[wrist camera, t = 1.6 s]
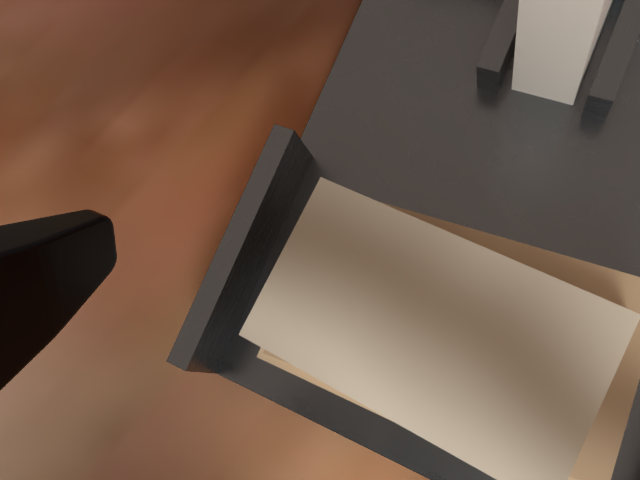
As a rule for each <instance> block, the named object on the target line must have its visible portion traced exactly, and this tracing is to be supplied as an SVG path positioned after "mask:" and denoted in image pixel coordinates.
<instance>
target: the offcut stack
mask: <svg viewBox="0 0 640 480" xmlns="http://www.w3.org/2000/svg"><path fill="white" fill-rule="evenodd" d="M239 335H240V336H242V337H244V338H245V339H247V340H249V341H251V342H253V343H254V344H256V345H258V346H260V347H261V348H260V350H259V353H258V355H257V357H258V358H260V359H262V360H264V361H266V362H268V363H270V364H273V365H275V366H277V367H279V368H281V369H283V370H285V371H287V372H289V373H292V374H294V375H296V376H298V377H300V378H302V379H304V380H306V381H308V382H311V383H313V384H315V385H317V386H319V387H321V388H323V389H325V390H327V391H330V392H332V393H334V394H336V395H338V396H340V397H342V398H344V399H346V400H349V401H351V402H353V403H355V404H357V405H359V406H361V407H363V408H365V409H368V410H370V411H372V412H374V413H376V414H378V415H380V416H382V417H384V418H387V419H389V420H391V421H393V422H395V423H397V424H398V425H400V426H402V427H404V428H406V429H407V430H409V431H411V432H413V433H415V434H416V435H418V436H420V437H422V438H423V439H425V440H427V441H429V442H431V443H432V444H434V445H436V446H438V447H439V448H441V449H443V450H445V451H447V452H448V453H450V454H452V455H454V456H455V457H457V458H459V459H461V460H463V461H464V462H466V463H468V464H470V465H471V466H473V467H475V468H477V469H479V470H480V471H482V472H484V473H486V474H488V475H489V476H491V477H493V478H495V479H496V480H611V477H612V474H613V470H614V467H615V463H616V460H617V456H618V453H619V449H620V446H621V442H622V439H623V435H624V432H625V428H626V425H627V421H628V418H629V414H630V411H631V407H632V404H633V400H634V397H635V393H636V390H637V386H638V383H639V380H640V277H638V276H634V275H631V274H627V273H624V272H620V271H617V270H614V269H610V268H607V267H603V266H600V265H596V264H593V263H589V262H586V261H582V260H579V259H576V258H572V257H569V256H565V255H562V254H558V253H555V252H551V251H548V250H545V249H541V248H538V247H534V246H531V245H527V244H524V243H520V242H517V241H513V240H510V239H507V238H503V237H500V236H496V235H493V234H489V233H486V232H482V231H479V230H475V229H472V228H469V227H465V226H462V225H458V224H455V223H451V222H448V221H444V220H441V219H438V218H434V217H431V216H427V215H424V214H420V213H417V212H413V211H410V210H406V209H403V208H400V207H396V206H393V205H389V204H386V203H382V202H379V201H376V200H373V199H371V198H369V197H366V196H364V195H362V194H359V193H357V192H355V191H352V190H350V189H348V188H345V187H343V186H341V185H338V184H336V183H334V182H331V181H329V180H327V179H324V178H322V177H320V179H319V181H318V183H317V185H316V187H315V189H314V191H313V193H312V195H311V197H310V198H309V200H308V202H307V204H306V206H305V208H304V210H303V212H302V214H301V216H300V218H299V220H298V222H297V223H296V225H295V227H294V229H293V231H292V233H291V235H290V237H289V239H288V241H287V243H286V245H285V246H284V248H283V250H282V252H281V254H280V256H279V258H278V260H277V262H276V264H275V266H274V268H273V270H272V271H271V273H270V275H269V277H268V279H267V281H266V283H265V285H264V287H263V289H262V291H261V293H260V294H259V296H258V298H257V300H256V302H255V304H254V306H253V308H252V310H251V312H250V314H249V316H248V317H247V319H246V321H245V323H244V325H243V327H242V329H241V331H240V333H239Z"/></svg>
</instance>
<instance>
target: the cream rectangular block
mask: <svg viewBox="0 0 640 480" xmlns="http://www.w3.org/2000/svg"><path fill="white" fill-rule="evenodd" d="M613 1H614V0H519V6H518V18H517V30H516V42H515V54H514V65H513V77H512V90H516V91H520V92H524V93H527V94H531V95H535V96H539V97H543V98H546V99H550V100H554V101H558V102H562V103H566V104H569V105H573V104H574V101H575V98H576V96H577V93H578V91H579V88H580V86H581V83H582V80H583V78H584V75H585V73H586V70H587V68H588V65H589V62H590V60H591V57H592V55H593V52H594V50H595V47H596V44H597V42H598V39H599V37H600V34H601V32H602V29H603V26H604V24H605V21H606V19H607V16H608V14H609V11H610V8H611V6H612V3H613Z"/></svg>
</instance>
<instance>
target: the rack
mask: <svg viewBox="0 0 640 480" xmlns="http://www.w3.org/2000/svg"><path fill="white" fill-rule="evenodd" d="M518 6H519V0H362V3H361V5H360V7H359V9H358V12H357V14H356V16H355V18H354V20H353V23H352V25H351V27H350V29H349V32H348V34H347V36H346V38H345V41H344V43H343V45H342V47H341V49H340V52H339V54H338V56H337V58H336V61H335V63H334V65H333V67H332V70H331V72H330V74H329V76H328V79H327V81H326V83H325V85H324V87H323V90H322V92H321V94H320V96H319V99H318V101H317V103H316V105H315V108H314V110H313V112H312V114H311V116H310V119H309V121H308V123H307V125H306V128H305V130H304V132H303V134H302V137H301V139H300V138H299V136H298V135H297V134H296V132H295V131H294V130H292V129H288V128H285V127H282V126H279V125H276V124H274V126H273V128H272V131H271V133H270V135H269V137H268V139H267V142H266V144H265V146H264V148H263V150H262V152H261V155H260V157H259V159H258V161H257V163H256V166H255V168H254V170H253V172H252V174H251V177H250V179H249V181H248V183H247V185H246V188H245V190H244V192H243V194H242V196H241V199H240V201H239V203H238V205H237V207H236V210H235V212H234V214H233V216H232V218H231V221H230V223H229V225H228V227H227V229H226V232H225V234H224V236H223V238H222V240H221V242H220V245H219V247H218V249H217V251H216V253H215V256H214V258H213V260H212V262H211V264H210V267H209V269H208V271H207V273H206V275H205V278H204V280H203V282H202V284H201V286H200V289H199V291H198V293H197V295H196V297H195V300H194V302H193V304H192V306H191V308H190V311H189V313H188V315H187V317H186V319H185V322H184V324H183V326H182V328H181V330H180V332H179V335H178V337H177V339H176V341H175V343H174V346H173V348H172V350H171V352H170V354H169V357H168V359H167V362H169V363H171V364H173V365H175V366H176V367H178V368H180V369H182V370H184V371H191V372H204V373H217V374H219V375H221V376H223V377H225V378H227V379H229V380H231V381H233V382H235V383H237V384H239V385H241V386H243V387H245V388H247V389H249V390H251V391H253V392H255V393H257V394H259V395H261V396H263V397H265V398H267V399H269V400H271V401H273V402H275V403H277V404H279V405H281V406H283V407H285V408H287V409H289V410H292V411H294V412H296V413H298V414H300V415H302V416H304V417H306V418H308V419H310V420H312V421H314V422H316V423H318V424H320V425H322V426H324V427H326V428H328V429H330V430H332V431H334V432H336V433H338V434H340V435H342V436H344V437H346V438H348V439H350V440H352V441H354V442H356V443H358V444H360V445H362V446H364V447H366V448H368V449H370V450H372V451H374V452H376V453H378V454H380V455H382V456H384V457H386V458H388V459H390V460H392V461H394V462H396V463H398V464H400V465H402V466H404V467H406V468H408V469H410V470H412V471H414V472H416V473H418V474H420V475H422V476H424V477H426V478H428V479H430V480H496V479H495V478H493V477H491V476H489V475H488V474H486V473H484V472H482V471H480V470H479V469H477V468H475V467H473V466H471V465H470V464H468V463H466V462H464V461H463V460H461V459H459V458H457V457H455V456H454V455H452V454H450V453H448V452H447V451H445V450H443V449H441V448H439V447H438V446H436V445H434V444H432V443H431V442H429V441H427V440H425V439H423V438H422V437H420V436H418V435H416V434H415V433H413V432H411V431H409V430H407V429H406V428H404V427H402V426H400V425H398V424H397V423H395V422H393V421H391V420H389V419H387V418H384V417H382V416H380V415H378V414H376V413H374V412H372V411H370V410H368V409H365V408H363V407H361V406H359V405H357V404H355V403H353V402H351V401H349V400H346V399H344V398H342V397H340V396H338V395H336V394H334V393H332V392H330V391H327V390H325V389H323V388H321V387H319V386H317V385H315V384H313V383H311V382H308V381H306V380H304V379H302V378H300V377H298V376H296V375H294V374H292V373H289V372H287V371H285V370H283V369H281V368H279V367H277V366H275V365H273V364H270V363H268V362H266V361H264V360H262V359H260V358H258V357H257V355H258V353H259V350H260V348H261V347H260V346H258V345H256V344H254V343H253V342H251V341H249V340H247V339H245V338H244V337H242V336H240V335H239V333H240V331H241V329H242V327H243V325H244V323H245V321H246V319H247V317H248V316H249V314H250V312H251V310H252V308H253V306H254V304H255V302H256V300H257V298H258V296H259V294H260V293H261V291H262V289H263V287H264V285H265V283H266V281H267V279H268V277H269V275H270V273H271V271H272V270H273V268H274V266H275V264H276V262H277V260H278V258H279V256H280V254H281V252H282V250H283V248H284V246H285V245H286V243H287V241H288V239H289V237H290V235H291V233H292V231H293V229H294V227H295V225H296V223H297V222H298V220H299V218H300V216H301V214H302V212H303V210H304V208H305V206H306V204H307V202H308V200H309V198H310V197H311V195H312V193H313V191H314V189H315V187H316V185H317V183H318V181H319V179H320V177H322V178H324V179H327V180H329V181H331V182H334V183H336V184H338V185H341V186H343V187H345V188H348V189H350V190H352V191H355V192H357V193H359V194H362V195H364V196H366V197H369V198H371V199H373V200H376V201H379V202H382V203H386V204H389V205H393V206H396V207H400V208H403V209H406V210H410V211H413V212H417V213H420V214H424V215H427V216H431V217H434V218H438V219H441V220H444V221H448V222H451V223H455V224H458V225H462V226H465V227H469V228H472V229H475V230H479V231H482V232H486V233H489V234H493V235H496V236H500V237H503V238H507V239H510V240H513V241H517V242H520V243H524V244H527V245H531V246H534V247H538V248H541V249H545V250H548V251H551V252H555V253H558V254H562V255H565V256H569V257H572V258H576V259H579V260H582V261H586V262H589V263H593V264H596V265H600V266H603V267H607V268H610V269H614V270H617V271H620V272H624V273H627V274H631V275H634V276H638V277H640V0H614V1H613V3H612V6H611V8H610V11H609V14H608V16H607V19H606V21H605V24H604V26H603V29H602V32H601V34H600V37H599V39H598V42H597V44H596V47H595V50H594V52H593V55H592V57H591V60H590V62H589V65H588V68H587V70H586V73H585V75H584V78H583V80H582V83H581V86H580V88H579V91H578V93H577V96H576V98H575V101H574V104H573V105H569V104H566V103H562V102H558V101H554V100H550V99H546V98H543V97H539V96H535V95H531V94H527V93H524V92H520V91H516V90H512V77H513V65H514V54H515V42H516V30H517V18H518ZM611 480H640V380H639V383H638V386H637V390H636V393H635V397H634V400H633V404H632V407H631V411H630V414H629V418H628V421H627V425H626V428H625V432H624V435H623V439H622V442H621V446H620V449H619V453H618V456H617V460H616V463H615V467H614V470H613V474H612V477H611Z"/></svg>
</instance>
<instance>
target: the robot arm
mask: <svg viewBox="0 0 640 480" xmlns="http://www.w3.org/2000/svg"><path fill="white" fill-rule="evenodd" d="M116 259H117V253H116V245H115V236H114V228H113V223H112V221H111V220H110V218H108V217H107V216H105V215H102V214H100V213H98V212H95V211H93V210H81V211H76V212H71V213H65V214H60V215H55V216H49V217H44V218H39V219H34V220H28V221H23V222H18V223H12V224H7V225H2V226H0V390H1V389H2V388H3V387H4V386H5V385H6V384H7V383H8V382H9V381H11V380H12V379H13V378H14V377H15V376H16V375H17V374H18V373H19V372H20V371H21V370H22V369H23V368H24V367H25V366H26V365H27V364H28V363H29V362H30V361H31V360H32V359H33V358H34V357H35V356H36V355H37V354H38V353H39V352H40V351H41V350H43V349H44V348H45V347H46V346H47V345H48V344H49V343H50V342H51V341H52V340H53V338H54V337H55V336H56V335H57V334H58V333H59V332H60V331H61V330H62V329H63V328H64V326H65V325H66V324H67V323H68V322H69V321H70V319H71V318H72V317H73V316H74V315H75V314H76V312H77V311H78V310H79V309H80V308H81V306H82V305H83V304H84V303H85V302H86V301H87V299H88V298H89V297H90V296H91V295H92V294H93V292H94V291H95V290H96V289H97V288H98V286H99V285H100V284H101V283H102V282H103V281H104V279H105V278H106V277H107V276H108V275H109V274H110V272H111V271H112V270H113V268H114V266H115V263H116Z"/></svg>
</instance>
